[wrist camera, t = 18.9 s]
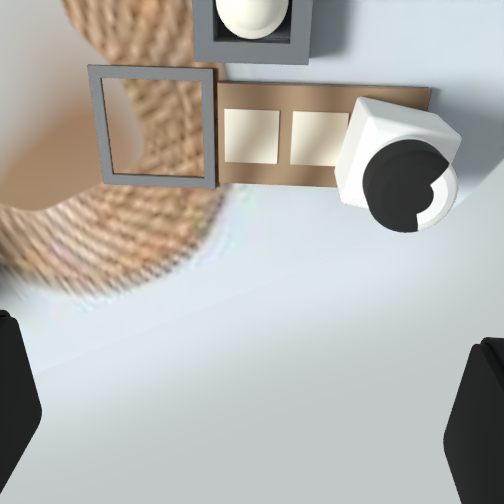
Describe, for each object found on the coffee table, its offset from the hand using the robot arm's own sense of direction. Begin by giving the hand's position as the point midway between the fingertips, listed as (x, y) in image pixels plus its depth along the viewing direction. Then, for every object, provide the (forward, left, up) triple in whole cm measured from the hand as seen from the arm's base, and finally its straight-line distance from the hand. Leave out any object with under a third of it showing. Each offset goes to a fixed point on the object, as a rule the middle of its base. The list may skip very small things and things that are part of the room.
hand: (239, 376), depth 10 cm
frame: (-11, -5, -36) cm, 38 cm away
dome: (-2, +6, -36) cm, 37 cm away
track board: (+4, -5, -36) cm, 37 cm away
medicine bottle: (+10, -5, -35) cm, 37 cm away
